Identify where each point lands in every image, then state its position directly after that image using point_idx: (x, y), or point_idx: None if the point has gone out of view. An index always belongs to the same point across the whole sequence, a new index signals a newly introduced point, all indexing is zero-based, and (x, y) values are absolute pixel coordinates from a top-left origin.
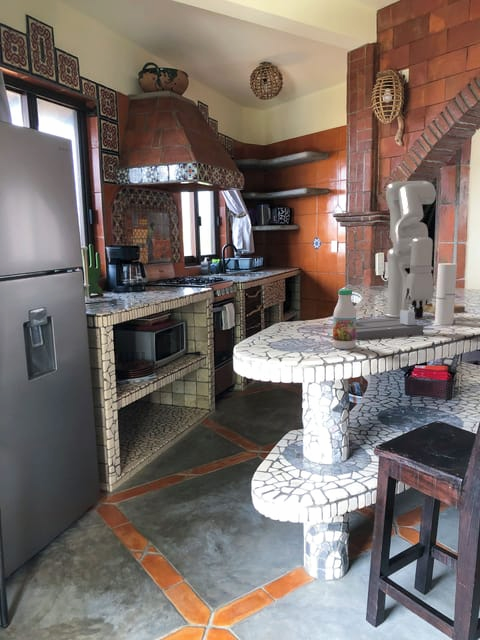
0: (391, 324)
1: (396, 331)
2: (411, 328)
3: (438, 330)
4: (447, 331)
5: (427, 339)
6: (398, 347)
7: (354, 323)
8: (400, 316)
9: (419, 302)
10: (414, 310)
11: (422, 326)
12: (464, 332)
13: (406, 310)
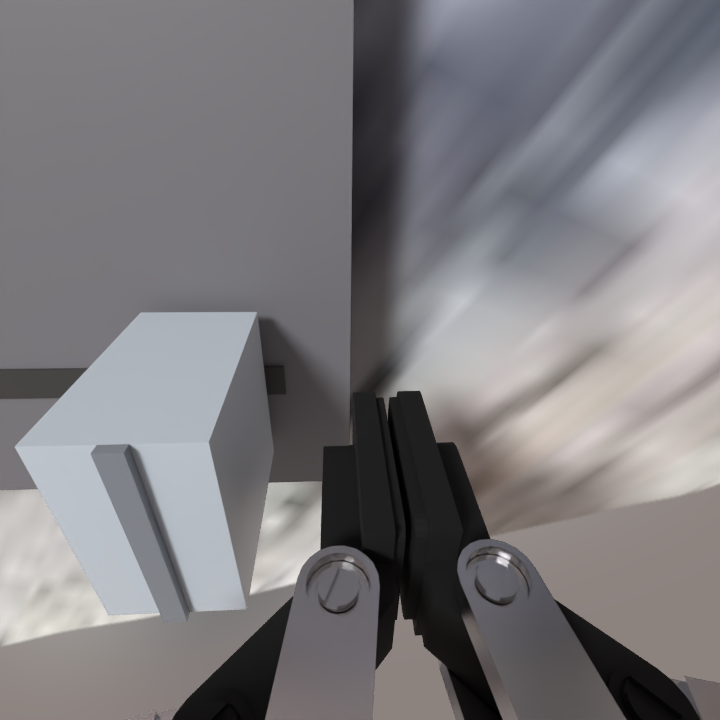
0: (8, 291)
1: None
2: None
3: (592, 348)
4: (617, 402)
5: (275, 543)
6: (4, 625)
7: None
8: (95, 372)
9: (499, 686)
10: (323, 519)
11: None
12: (684, 461)
13: (128, 536)
